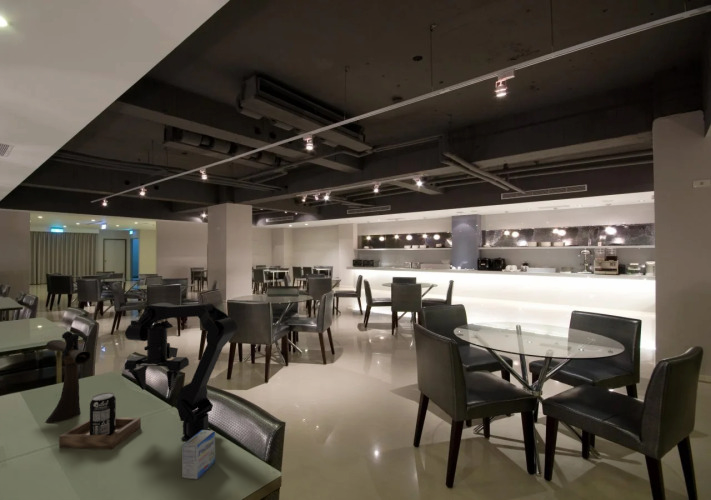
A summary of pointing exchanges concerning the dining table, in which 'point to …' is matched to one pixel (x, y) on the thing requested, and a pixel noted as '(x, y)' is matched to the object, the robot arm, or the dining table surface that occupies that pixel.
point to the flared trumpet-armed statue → (68, 376)
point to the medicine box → (198, 454)
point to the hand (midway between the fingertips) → (157, 389)
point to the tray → (84, 440)
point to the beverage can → (103, 414)
